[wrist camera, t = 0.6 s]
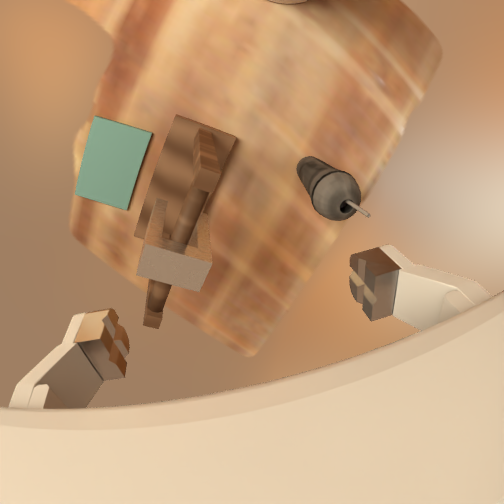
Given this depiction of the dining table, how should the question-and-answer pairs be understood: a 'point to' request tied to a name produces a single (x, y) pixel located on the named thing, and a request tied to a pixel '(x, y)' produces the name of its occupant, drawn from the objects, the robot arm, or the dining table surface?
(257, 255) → the dining table surface
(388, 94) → the dining table surface
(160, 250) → the tall rectangular pillar
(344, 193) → the beverage cup
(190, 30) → the dining table surface
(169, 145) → the stand
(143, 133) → the mat
